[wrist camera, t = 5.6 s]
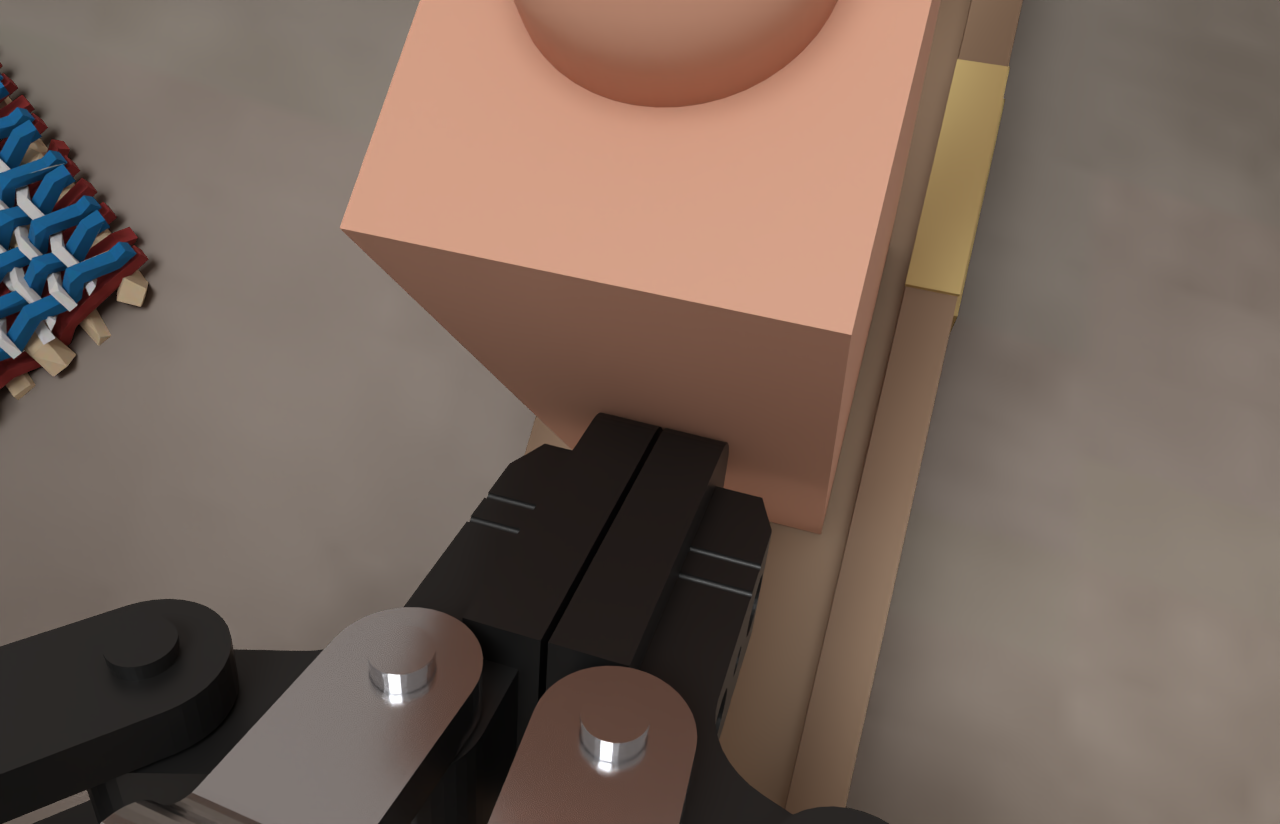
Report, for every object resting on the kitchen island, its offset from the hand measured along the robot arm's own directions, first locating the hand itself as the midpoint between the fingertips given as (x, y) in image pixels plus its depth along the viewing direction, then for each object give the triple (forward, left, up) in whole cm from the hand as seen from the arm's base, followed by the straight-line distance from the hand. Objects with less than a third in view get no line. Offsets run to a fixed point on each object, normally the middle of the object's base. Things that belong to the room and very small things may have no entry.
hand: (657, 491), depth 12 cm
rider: (0, +3, -5) cm, 6 cm away
